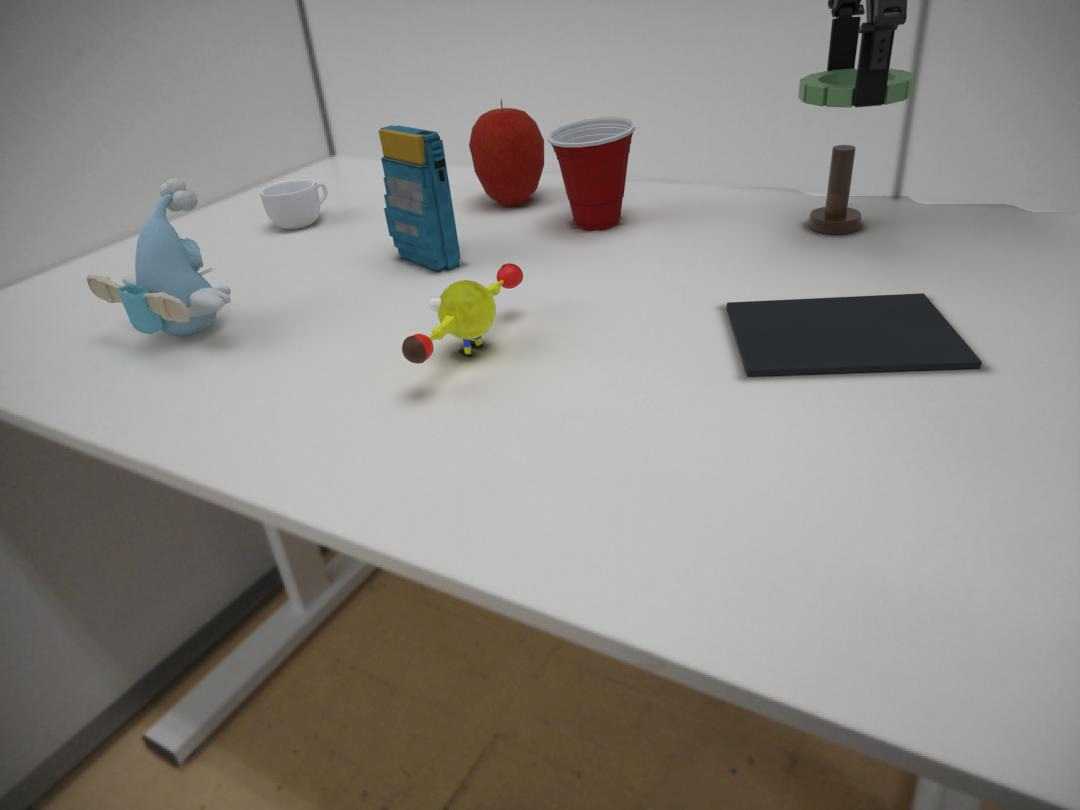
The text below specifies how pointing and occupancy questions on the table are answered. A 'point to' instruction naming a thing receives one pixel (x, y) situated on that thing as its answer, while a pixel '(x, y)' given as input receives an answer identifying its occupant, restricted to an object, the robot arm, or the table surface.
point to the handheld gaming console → (419, 197)
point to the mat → (846, 336)
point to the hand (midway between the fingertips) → (852, 93)
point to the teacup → (292, 202)
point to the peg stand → (837, 196)
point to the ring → (850, 87)
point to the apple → (507, 155)
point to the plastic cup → (594, 167)
